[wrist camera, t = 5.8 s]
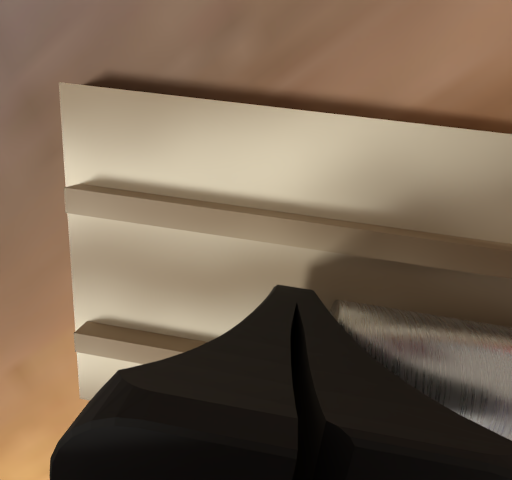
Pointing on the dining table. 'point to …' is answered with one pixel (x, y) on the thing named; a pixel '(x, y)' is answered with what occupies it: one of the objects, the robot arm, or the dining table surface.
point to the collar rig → (269, 218)
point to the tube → (440, 358)
